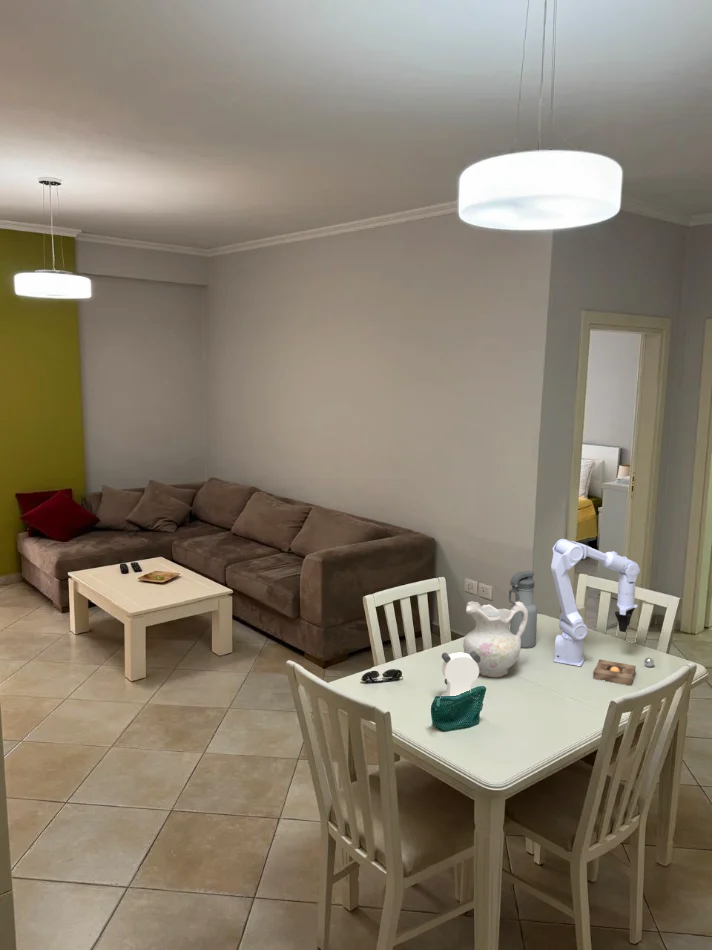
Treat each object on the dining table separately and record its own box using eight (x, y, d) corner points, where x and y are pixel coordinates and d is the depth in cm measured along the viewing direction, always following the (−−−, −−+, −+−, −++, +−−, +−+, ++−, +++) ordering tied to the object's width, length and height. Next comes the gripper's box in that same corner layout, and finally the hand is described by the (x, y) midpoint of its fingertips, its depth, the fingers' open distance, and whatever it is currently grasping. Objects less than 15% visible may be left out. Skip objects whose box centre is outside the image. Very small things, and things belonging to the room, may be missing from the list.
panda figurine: (472, 690, 236) (473, 646, 234) (483, 706, 225) (485, 659, 223) (436, 692, 234) (437, 648, 232) (446, 708, 223) (447, 662, 221)
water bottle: (518, 650, 270) (520, 577, 266) (503, 641, 279) (505, 570, 275) (541, 646, 273) (543, 574, 270) (526, 638, 282) (528, 568, 279)
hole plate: (593, 678, 245) (593, 671, 245) (599, 666, 256) (599, 659, 255) (630, 685, 239) (631, 678, 239) (635, 672, 250) (635, 665, 250)
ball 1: (608, 676, 247) (609, 668, 246) (610, 672, 250) (611, 664, 249) (618, 678, 245) (619, 670, 245) (620, 674, 248) (620, 666, 247)
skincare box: (585, 637, 283) (586, 607, 282) (577, 639, 281) (578, 609, 279) (572, 632, 288) (573, 603, 287) (564, 635, 286) (565, 605, 284)
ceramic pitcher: (509, 660, 264) (508, 592, 262) (538, 677, 245) (537, 604, 243) (454, 667, 257) (453, 598, 255) (480, 685, 238) (479, 611, 237)
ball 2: (643, 667, 255) (643, 658, 254) (644, 664, 258) (645, 655, 257) (653, 668, 253) (653, 660, 253) (654, 665, 256) (654, 657, 256)
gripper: (635, 599, 253) (633, 636, 255) (640, 588, 266) (638, 624, 268) (614, 596, 257) (612, 633, 259) (620, 585, 269) (618, 621, 271)
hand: (624, 628), depth 264 cm, fingers open, 7 cm apart
